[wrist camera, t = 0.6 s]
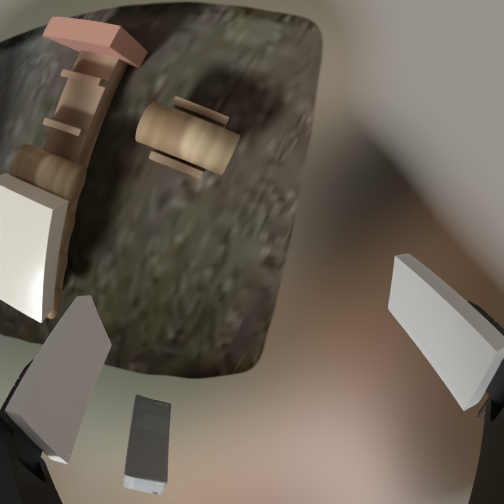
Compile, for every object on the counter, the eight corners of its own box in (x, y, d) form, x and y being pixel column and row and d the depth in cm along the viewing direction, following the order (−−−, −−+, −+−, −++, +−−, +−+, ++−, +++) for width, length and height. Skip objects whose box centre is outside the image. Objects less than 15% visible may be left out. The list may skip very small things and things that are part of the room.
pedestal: (162, 154, 29) (148, 159, 23) (185, 102, 27) (175, 95, 21) (204, 171, 30) (200, 179, 24) (228, 120, 28) (229, 116, 23)
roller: (143, 140, 24) (130, 142, 21) (159, 103, 23) (149, 99, 20) (221, 172, 26) (221, 178, 23) (239, 135, 25) (241, 135, 21)
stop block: (82, 53, 23) (42, 35, 14) (90, 38, 22) (52, 16, 14) (139, 67, 25) (109, 47, 16) (147, 51, 24) (120, 26, 16)
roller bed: (27, 273, 32) (1, 298, 26) (82, 53, 23) (52, 40, 16) (71, 295, 34) (49, 325, 28) (139, 67, 25) (117, 52, 18)
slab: (-2, 277, 25) (-16, 289, 22) (5, 173, 21) (-12, 179, 18) (53, 308, 27) (41, 323, 24) (68, 201, 23) (52, 209, 20)
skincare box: (135, 392, 42) (118, 471, 27) (176, 403, 44) (169, 484, 29) (132, 417, 45) (118, 487, 30) (168, 426, 46) (161, 498, 32)
